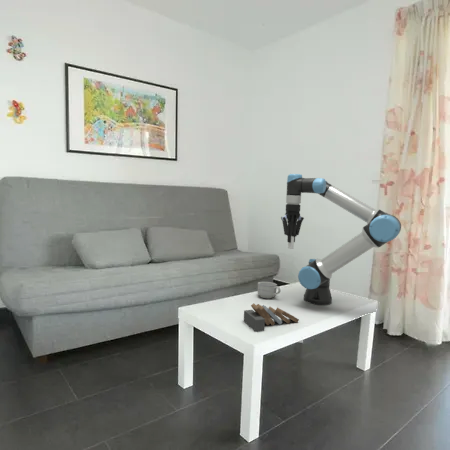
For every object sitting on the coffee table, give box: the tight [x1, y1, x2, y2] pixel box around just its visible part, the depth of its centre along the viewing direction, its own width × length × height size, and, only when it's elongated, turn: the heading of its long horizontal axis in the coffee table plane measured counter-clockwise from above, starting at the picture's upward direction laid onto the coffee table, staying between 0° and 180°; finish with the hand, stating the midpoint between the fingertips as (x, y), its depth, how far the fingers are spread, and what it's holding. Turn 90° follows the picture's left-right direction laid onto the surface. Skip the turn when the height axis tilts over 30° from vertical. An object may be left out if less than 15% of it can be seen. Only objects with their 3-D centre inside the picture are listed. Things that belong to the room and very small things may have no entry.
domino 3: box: [261, 304, 283, 325], centre depth 149 cm, size 2×5×10 cm
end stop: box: [243, 309, 266, 333], centre depth 146 cm, size 4×12×5 cm, turn 22°
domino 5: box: [275, 307, 300, 323], centre depth 152 cm, size 2×5×10 cm
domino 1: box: [250, 303, 271, 326], centre depth 147 cm, size 2×5×10 cm
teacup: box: [257, 281, 281, 299], centre depth 187 cm, size 14×11×8 cm
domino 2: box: [256, 303, 276, 327], centre depth 148 cm, size 2×5×10 cm
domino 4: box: [268, 306, 291, 325], centre depth 150 cm, size 2×5×10 cm
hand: (290, 248), depth 177 cm, fingers closed
